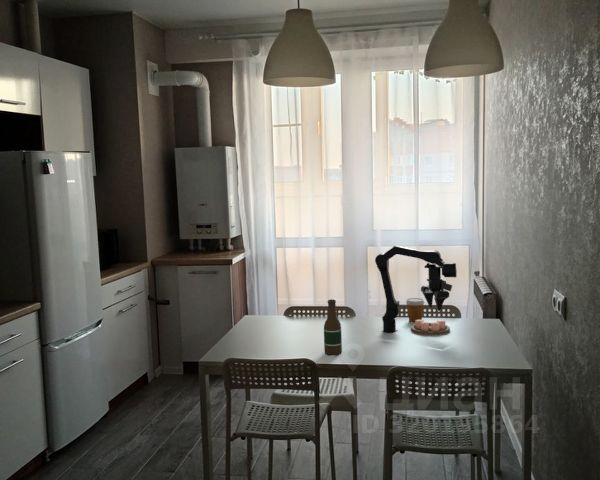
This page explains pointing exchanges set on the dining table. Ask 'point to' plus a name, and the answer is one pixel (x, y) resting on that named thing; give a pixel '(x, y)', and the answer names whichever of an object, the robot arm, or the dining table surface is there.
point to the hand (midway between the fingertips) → (434, 309)
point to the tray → (447, 330)
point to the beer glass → (415, 309)
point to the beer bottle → (332, 331)
